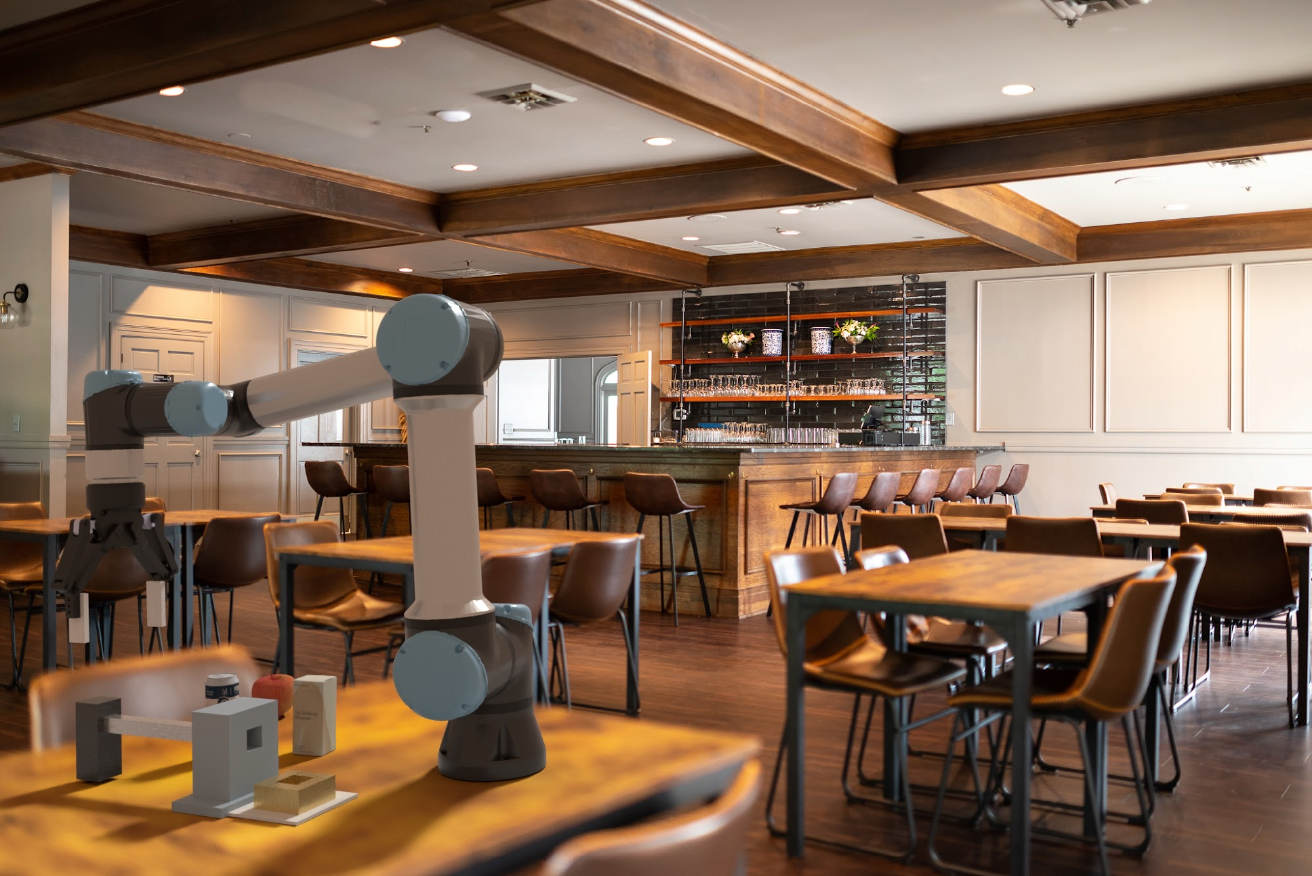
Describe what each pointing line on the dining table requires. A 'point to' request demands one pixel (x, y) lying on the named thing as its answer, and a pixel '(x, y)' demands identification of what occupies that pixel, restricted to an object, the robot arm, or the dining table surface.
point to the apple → (275, 690)
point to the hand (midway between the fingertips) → (119, 634)
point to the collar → (294, 792)
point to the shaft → (114, 735)
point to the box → (314, 715)
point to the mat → (291, 819)
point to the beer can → (221, 688)
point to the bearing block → (231, 755)
